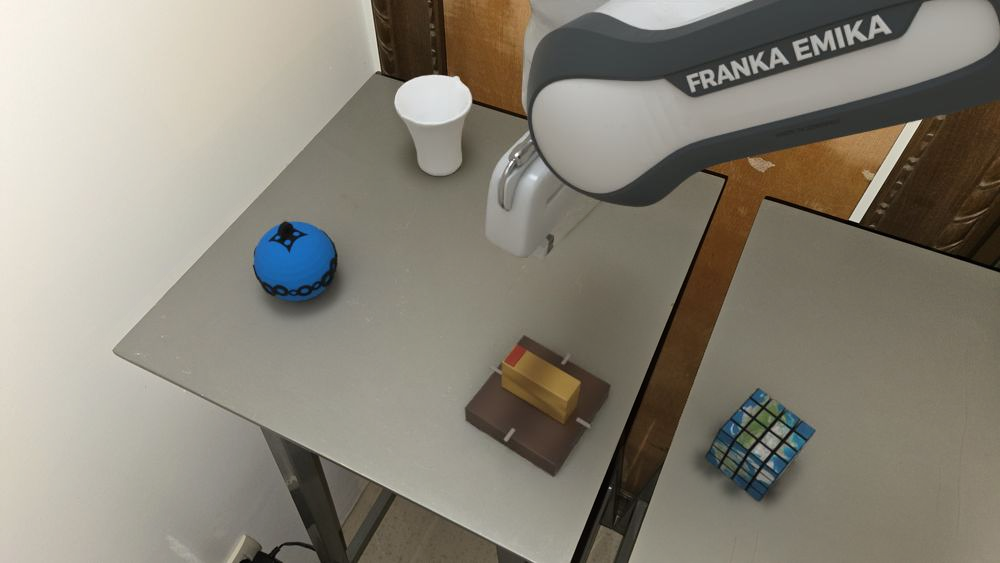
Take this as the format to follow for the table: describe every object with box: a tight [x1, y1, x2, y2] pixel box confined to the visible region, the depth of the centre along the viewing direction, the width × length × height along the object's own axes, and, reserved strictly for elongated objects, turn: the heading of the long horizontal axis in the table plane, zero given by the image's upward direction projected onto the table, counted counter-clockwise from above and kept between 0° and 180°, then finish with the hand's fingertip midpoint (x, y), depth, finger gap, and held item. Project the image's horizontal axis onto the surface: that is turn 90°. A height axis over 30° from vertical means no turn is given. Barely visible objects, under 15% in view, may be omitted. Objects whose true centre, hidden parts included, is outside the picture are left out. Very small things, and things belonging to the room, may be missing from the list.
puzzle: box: [705, 387, 816, 502], centre depth 68 cm, size 6×6×6 cm
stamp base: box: [464, 334, 612, 477], centre depth 72 cm, size 11×11×3 cm
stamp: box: [501, 343, 581, 424], centre depth 69 cm, size 7×2×5 cm, turn 55°
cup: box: [393, 74, 473, 177], centre depth 90 cm, size 9×9×10 cm
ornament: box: [252, 220, 339, 302], centre depth 78 cm, size 9×9×10 cm
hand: (569, 215), depth 64 cm, fingers open, 8 cm apart
